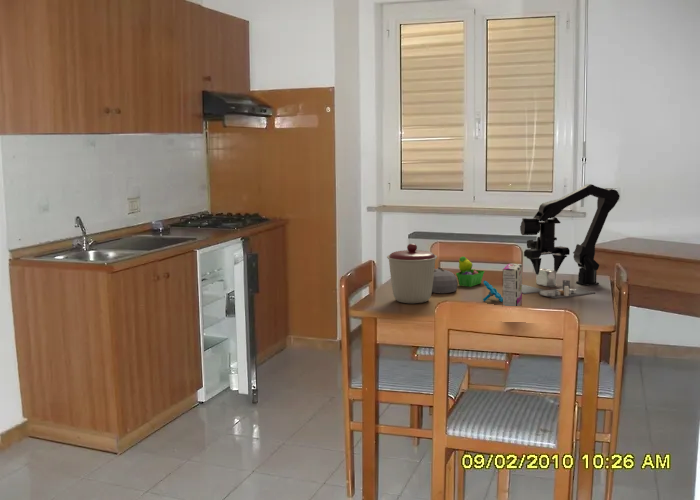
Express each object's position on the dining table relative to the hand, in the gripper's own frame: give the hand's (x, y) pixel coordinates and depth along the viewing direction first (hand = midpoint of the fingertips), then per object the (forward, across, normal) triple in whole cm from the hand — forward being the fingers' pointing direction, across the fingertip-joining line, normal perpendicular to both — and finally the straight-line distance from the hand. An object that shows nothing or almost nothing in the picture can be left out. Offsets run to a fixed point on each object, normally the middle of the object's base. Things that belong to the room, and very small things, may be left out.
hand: (546, 273), depth 291 cm
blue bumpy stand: (+5, +37, +15) cm, 40 cm away
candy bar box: (+5, +44, +36) cm, 57 cm away
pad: (+5, +14, +4) cm, 15 cm away
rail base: (+5, +5, +18) cm, 19 cm away
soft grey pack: (+5, +43, -13) cm, 45 cm away
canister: (+5, +62, +1) cm, 62 cm away
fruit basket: (+5, +26, -16) cm, 31 cm away
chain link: (+5, 0, 0) cm, 5 cm away
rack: (+4, +10, +19) cm, 21 cm away
